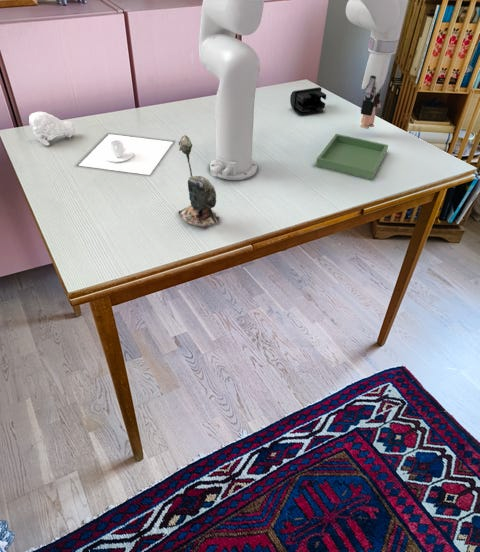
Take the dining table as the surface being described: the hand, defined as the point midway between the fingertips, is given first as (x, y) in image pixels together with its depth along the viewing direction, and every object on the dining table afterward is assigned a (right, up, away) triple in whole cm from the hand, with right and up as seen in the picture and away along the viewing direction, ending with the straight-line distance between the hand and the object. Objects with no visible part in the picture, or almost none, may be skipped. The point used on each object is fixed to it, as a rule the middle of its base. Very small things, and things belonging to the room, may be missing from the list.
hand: (369, 109), depth 137 cm
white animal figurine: (-92, -10, -2) cm, 92 cm away
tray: (-7, -16, -7) cm, 19 cm away
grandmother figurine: (0, -4, +4) cm, 5 cm away
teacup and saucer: (-70, -15, -7) cm, 72 cm away
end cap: (-16, +6, +19) cm, 26 cm away
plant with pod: (-47, -37, -31) cm, 67 cm away
